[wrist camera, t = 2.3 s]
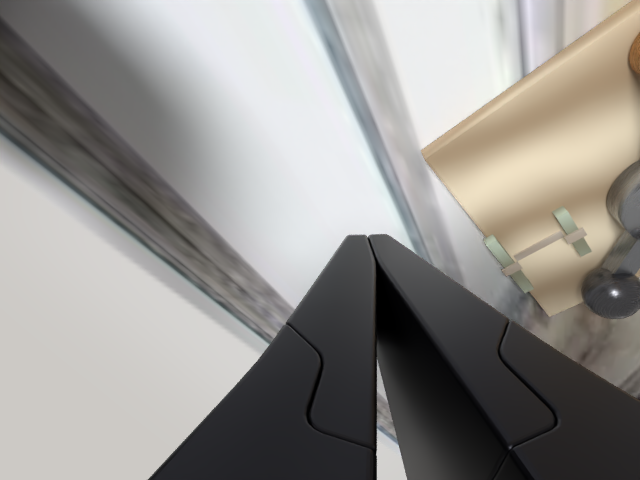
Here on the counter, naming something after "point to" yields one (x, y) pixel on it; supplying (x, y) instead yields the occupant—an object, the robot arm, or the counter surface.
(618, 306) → the capstan
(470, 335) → the robot arm
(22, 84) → the counter surface
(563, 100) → the wooden cutting board
